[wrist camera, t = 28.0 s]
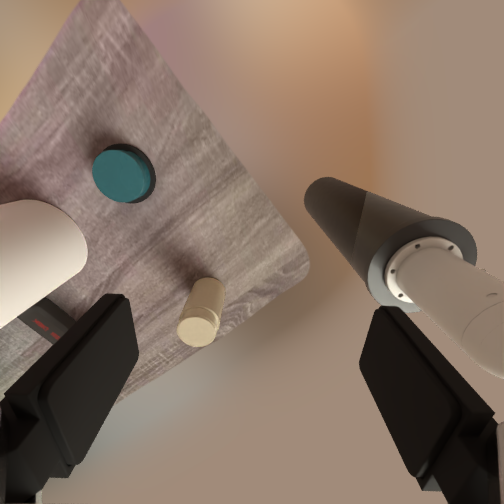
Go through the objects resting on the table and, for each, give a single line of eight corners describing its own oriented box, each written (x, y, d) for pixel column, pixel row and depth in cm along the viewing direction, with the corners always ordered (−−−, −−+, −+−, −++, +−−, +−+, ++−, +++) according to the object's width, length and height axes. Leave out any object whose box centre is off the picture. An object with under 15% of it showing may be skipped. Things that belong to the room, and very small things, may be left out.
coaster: (152, 145, 33) (151, 145, 32) (158, 204, 36) (157, 204, 36) (92, 142, 33) (91, 142, 32) (104, 201, 36) (103, 202, 35)
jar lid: (146, 205, 36) (139, 209, 34) (100, 191, 35) (90, 194, 33) (153, 159, 33) (147, 160, 31) (104, 142, 32) (93, 142, 30)
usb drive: (70, 343, 47) (60, 354, 44) (15, 301, 43) (0, 310, 41) (88, 331, 46) (78, 342, 43) (33, 286, 42) (18, 295, 39)
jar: (224, 277, 41) (216, 315, 32) (226, 305, 43) (218, 348, 34) (190, 277, 41) (171, 315, 32) (194, 305, 43) (177, 348, 34)
